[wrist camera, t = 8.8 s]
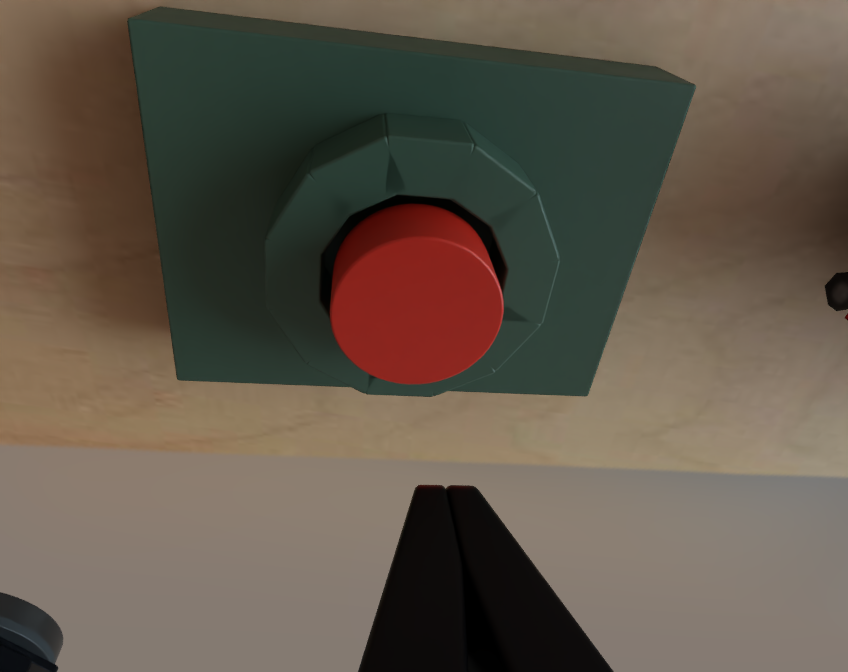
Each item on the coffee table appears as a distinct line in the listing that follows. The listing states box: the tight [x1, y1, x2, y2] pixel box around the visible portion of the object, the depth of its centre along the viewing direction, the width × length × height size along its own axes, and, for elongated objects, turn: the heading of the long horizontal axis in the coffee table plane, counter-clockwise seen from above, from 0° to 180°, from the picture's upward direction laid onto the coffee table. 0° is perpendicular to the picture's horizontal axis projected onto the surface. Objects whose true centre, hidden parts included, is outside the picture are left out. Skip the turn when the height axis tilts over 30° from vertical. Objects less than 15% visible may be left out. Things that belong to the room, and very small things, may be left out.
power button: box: [330, 203, 504, 384], centre depth 13 cm, size 4×4×2 cm
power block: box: [127, 7, 696, 397], centre depth 15 cm, size 12×9×4 cm
